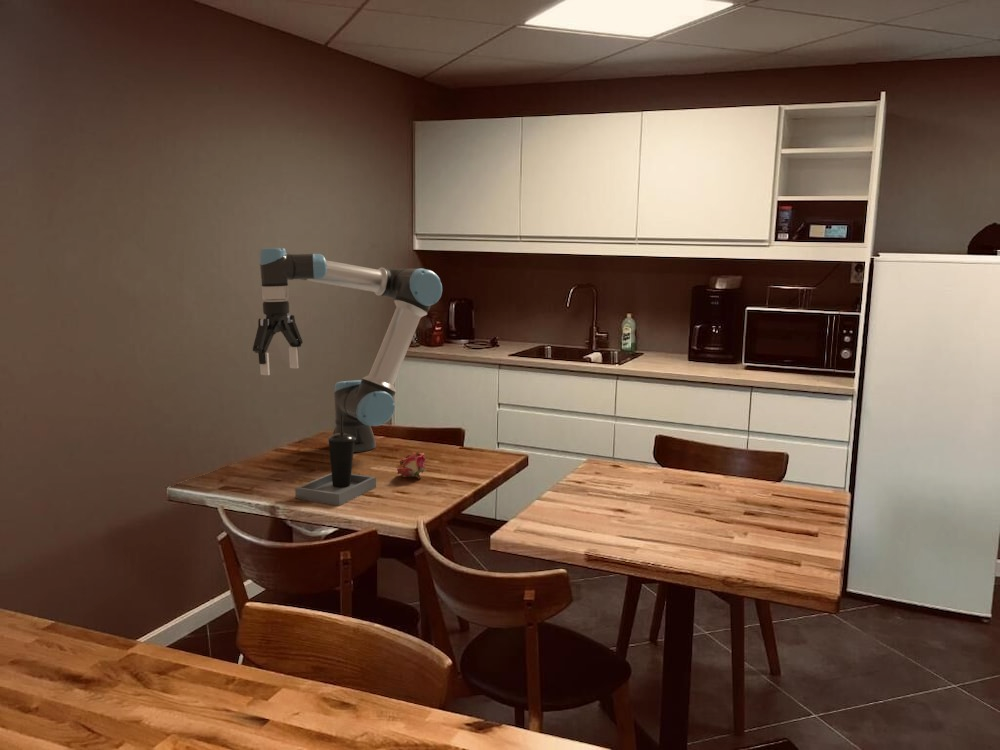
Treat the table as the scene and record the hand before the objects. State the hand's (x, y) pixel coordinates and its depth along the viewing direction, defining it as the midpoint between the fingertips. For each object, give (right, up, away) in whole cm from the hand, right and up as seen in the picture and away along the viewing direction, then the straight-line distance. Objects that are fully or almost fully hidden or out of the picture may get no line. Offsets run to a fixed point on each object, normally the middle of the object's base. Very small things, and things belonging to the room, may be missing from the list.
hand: (280, 371), depth 239 cm
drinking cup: (+22, -32, -16) cm, 42 cm away
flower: (+40, -32, -3) cm, 51 cm away
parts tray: (+21, -34, -19) cm, 44 cm away
